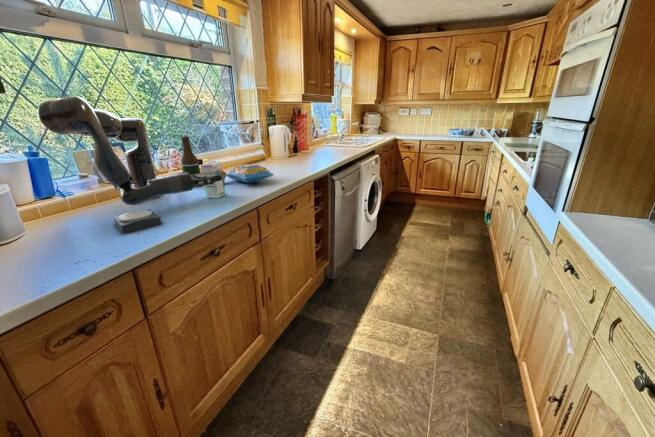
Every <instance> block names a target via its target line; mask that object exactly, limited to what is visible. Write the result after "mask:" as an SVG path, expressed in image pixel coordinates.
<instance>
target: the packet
mask: <svg viewBox="0 0 655 437" xmlns="http://www.w3.org/2000/svg"><path fill="white" fill-rule="evenodd" d="M226 173H227V176H226V177H228V178H229V179H231V180H233V181H237V182H241V183H245V184H248V185H251V184H254V183H256V182H257V181H261V180H265V179H267V178H268V179H269V178H270V177H273V176H274V175H275V173H273V172H271V171H270V170H269V169H268V168H266V167H265V166H261V165H259V164H251V165H249V164H247V165H237V166H235V167H233V168H232V169H231V170H230V171H228V172H226Z"/></svg>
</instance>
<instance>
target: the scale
mask: <svg viewBox="0 0 655 437" xmlns="http://www.w3.org/2000/svg"><path fill="white" fill-rule="evenodd" d="M113 219H114V223H115V225H116V227H117V228H118V229H119V230H120V231H121V233H122V234H128V233H132V232H136V231H140V230H145V229H148V228H152V227H156V226H159V225H162V220H161V217H160V216H159V215H158V214H157V213H156V212H154V211H152V210H151V209H149V208H148V209H139V210H132V211H128V212H125V213H123V214H120V215H117V216H113Z"/></svg>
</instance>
